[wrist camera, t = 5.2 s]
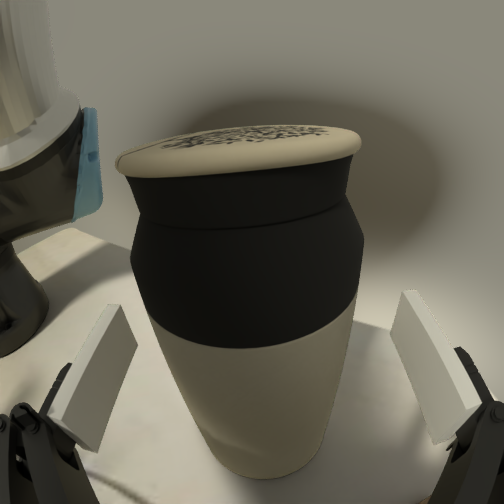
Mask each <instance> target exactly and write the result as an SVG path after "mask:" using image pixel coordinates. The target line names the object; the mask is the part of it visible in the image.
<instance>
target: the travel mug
mask: <svg viewBox="0 0 504 504" xmlns="http://www.w3.org/2000/svg"><path fill="white" fill-rule="evenodd" d="M360 147H361V139H360V137H359V135H358V134H356V133H355V132H353V131H350V130H346V129H341V128H333V127H325V126H307V125H268V126H250V127H237V128H227V129H219V130H211V131H205V132H198V133H191V134H186V135H181V136H176V137H171V138H167V139H162V140H158V141H154V142H150V143H147V144H143V145H140V146H137V147H134V148H131V149H129V150H127V151H124V152H123V153H121V154H120V155H119V156H118V157H117V158H116V161H115V167H116V169H117V171H118V172H119V173H121V174H123V175H125V177H126V179H127V181H128V182H129V185H130V187H131V189H132V192H133V195H134V198H135V201H136V204H137V206H138V209H139V212H140V217H139V221H138V225H137V229H136V233H135V237H134V241H133V246H132V250H131V256H130V262H131V266H132V269H133V273H134V276H135V279H136V282H137V285H138V288H139V291H140V294H141V297H142V300H143V303H144V305H145V308H146V311H147V314H148V316H149V319H150V322H151V324H152V327H153V330H154V332H155V335H156V337H157V340H158V342H159V345H160V347H161V350H162V352H163V354H164V357H165V359H166V361H167V364H168V366H169V368H170V371H171V373H172V375H173V377H174V380H175V382H176V384H177V386H178V388H179V390H180V392H181V395H182V397H183V399H184V401H185V403H186V405H187V407H188V409H189V411H190V413H191V415H192V417H193V419H194V421H195V422H196V424H197V426H198V428H199V430H200V432H201V434H202V436H203V437H204V439H205V441H206V443H207V445H208V446H209V448H210V450H211V452H212V453H213V455H214V456H215V458H216V459H217V460H218V461H219V462H220V463H221V464H222V465H223V466H224V467H226V468H227V469H229V470H230V471H232V472H234V473H236V474H239V475H241V476H244V477H249V478H254V479H272V478H278V477H282V476H285V475H288V474H291V473H293V472H295V471H297V470H298V469H300V468H301V467H303V466H304V465H305V464H307V463H308V462H309V461H310V460H311V459H312V458H313V456H314V455H315V454H316V452H317V451H318V449H319V447H320V445H321V442H322V439H323V436H324V433H325V430H326V426H327V423H328V420H329V416H330V413H331V410H332V406H333V403H334V399H335V395H336V392H337V388H338V384H339V380H340V376H341V372H342V368H343V364H344V359H345V355H346V350H347V346H348V341H349V336H350V331H351V326H352V321H353V315H354V310H355V304H356V298H357V292H358V285H359V278H360V271H361V263H362V256H363V247H364V236H363V233H362V230H361V228H360V226H359V223H358V221H357V219H356V216H355V214H354V212H353V210H352V208H351V205H350V203H349V202H348V199H347V197H346V195H345V193H346V187H347V181H348V175H349V169H350V164H351V160H352V157H353V154H354V153H355V152H357V151H358V150H359V148H360Z"/></svg>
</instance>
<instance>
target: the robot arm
mask: <svg viewBox="0 0 504 504" xmlns="http://www.w3.org/2000/svg"><path fill="white" fill-rule="evenodd" d="M98 146H99V145H98V125H97V110H96V109H95V108H84V109H82V110H81V108H80V104H79V99H78V97H77V94H76V93H75V92H73V91H71V90H69V89H66V88H63V87H60V85H59V81H58V76H57V71H56V65H55V59H54V53H53V47H52V40H51V32H50V23H49V11H48V0H0V357H2V356H4V355H6V354H8V353H10V352H12V351H14V350H15V349H17V348H18V347H19V346H21V345H22V344H23V343H24V342H26V341H27V340H28V339H29V338H30V337H31V336H32V335H33V334H34V333H35V331H36V330H37V329H38V328H39V326H40V325H41V323H42V322H43V320H44V318H45V316H46V314H47V311H48V306H49V303H48V299H47V297H46V294H45V292H44V290H43V288H42V286H41V285H40V283H39V282H38V281H37V280H35V279H34V278H33V277H32V275H31V274H30V273H29V271H28V270H27V269H26V267H25V266H24V265H23V263H22V262H21V261H20V260H19V258H18V257H17V255H16V253H15V251H14V248H13V245H12V243H11V242H13V241H15V240H18V239H21V238H24V237H27V236H30V235H33V234H36V233H39V232H42V231H45V230H48V229H51V228H54V227H57V226H60V225H64V224H67V223H70V222H71V223H73V222H75V221H76V220H77V219H79V218H81V217H84V216H87V215H90V214H92V213H94V212H96V211H97V210H98V209H99V208H100V206H101V204H102V201H103V192H102V182H101V171H100V160H99V147H98ZM390 335H391V338H392V340H393V342H394V344H395V347H396V349H397V351H398V353H399V356H400V358H401V360H402V363H403V365H404V367H405V370H406V372H407V375H408V377H409V380H410V382H411V385H412V387H413V390H414V392H415V395H416V397H417V400H418V403H419V405H420V408H421V411H422V414H423V416H424V419H425V422H426V425H427V428H428V431H429V434H430V437H431V440H432V443H433V445H436V444H438V443H441V442H444V441H446V440H448V439H450V438H451V437H452V436H453V435H454V434H455V433H456V436H457V438H456V439H455V440H454V441H453V442H452V443H451V444H450V445H449V446H448V448H447V449H446V451H448V450H449V449H451V448H452V450H451V452H450V455H449V457H448V460H447V462H446V465H445V467H444V470H443V472H442V474H441V476H440V479H439V481H438V483H437V485H436V487H435V489H434V491H433V493H432V495H431V497H430V499H429V501H428V503H427V504H504V403H502V402H500V401H494V399H493V398H492V396H491V394H490V392H489V390H488V388H487V386H486V384H485V382H484V380H483V379H482V377H481V375H480V373H478V369H477V368H476V366H475V365H474V362H473V361H472V359H471V357H470V355H469V354H468V353H467V352H466V351H465V350H464V349H462V348H461V347H457V348H453V347H452V345H451V344H450V342H449V340H448V339H447V337H446V335H445V334H444V332H443V330H442V329H441V327H440V325H439V324H438V322H437V321H436V319H435V317H434V316H433V315H432V313H431V311H430V310H429V308H428V307H427V305H426V304H425V302H424V301H423V299H422V298H421V296H420V295H419V293H418V292H417V290H407V291H402V294H401V298H400V301H399V305H398V309H397V312H396V316H395V319H394V323H393V326H392V329H391V332H390ZM137 346H138V344H137V342H136V340H135V337H134V335H133V333H132V331H131V328H130V326H129V324H128V321H127V319H126V317H125V314H124V312H123V309H122V307H121V305H114V304H108V305H107V306H106V308H105V309H104V311H103V313H102V314H101V316H100V317H99V319H98V321H97V322H96V324H95V326H94V327H93V329H92V331H91V332H90V334H89V336H88V337H87V339H86V341H85V343H84V344H83V346H82V348H81V350H80V351H79V353H78V355H77V357H76V358H75V360H74V362H73V363H68V364H67V365H66V366H64V367H63V368H62V369H61V371H60V372H59V374H58V376H57V378H56V381H55V382H54V383H53V385H52V388H51V389H50V391H49V393H48V395H47V397H46V399H45V401H44V403H43V405H42V407H41V409H40V411H39V413H37V412H36V411H35V410H34V409H33V408H32V407H31V406H30V405H29V404H28V403H24V402H23V403H19V404H17V405H15V406H14V408H13V409H12V410H11V413H10V416H9V417H8V416H6V415H4V414H0V504H100V503H99V501H98V499H97V497H96V495H95V493H94V491H93V488H92V486H91V484H90V482H89V479H88V477H87V475H86V472H85V470H84V467H83V465H82V462H81V460H80V457H79V454H78V452H77V450H76V448H75V444H76V443H77V444H78V445H79V446H80V447H82V448H83V449H85V450H88V451H91V452H95V453H98V450H99V447H100V444H101V441H102V438H103V435H104V432H105V429H106V426H107V423H108V421H109V418H110V415H111V412H112V409H113V407H114V404H115V401H116V399H117V396H118V393H119V391H120V388H121V386H122V383H123V381H124V378H125V375H126V373H127V370H128V368H129V365H130V363H131V361H132V358H133V356H134V353H135V351H136V349H137ZM16 454H17V455H18V456H19V457H20V459H19V461H17V460H16Z"/></svg>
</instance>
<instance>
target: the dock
mask: <svg viewBox="0 0 504 504" xmlns="http://www.w3.org/2000/svg"><path fill="white" fill-rule="evenodd" d="M430 497H431V495H430V496H429V497H427V498H426V499H424V500H423V501H421V502H420V503H418V504H427V503H428V501H429V499H430Z"/></svg>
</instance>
